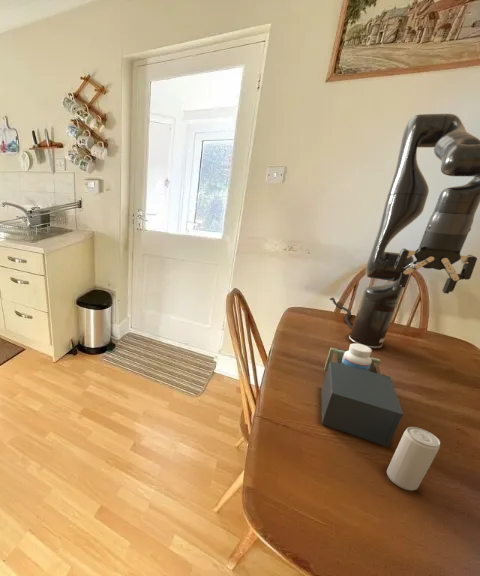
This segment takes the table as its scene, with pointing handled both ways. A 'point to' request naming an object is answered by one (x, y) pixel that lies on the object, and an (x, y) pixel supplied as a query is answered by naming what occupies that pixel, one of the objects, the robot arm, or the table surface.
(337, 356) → the drawer
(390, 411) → the cabinet
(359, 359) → the pill bottle
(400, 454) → the beverage can
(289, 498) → the table surface
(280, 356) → the table surface
